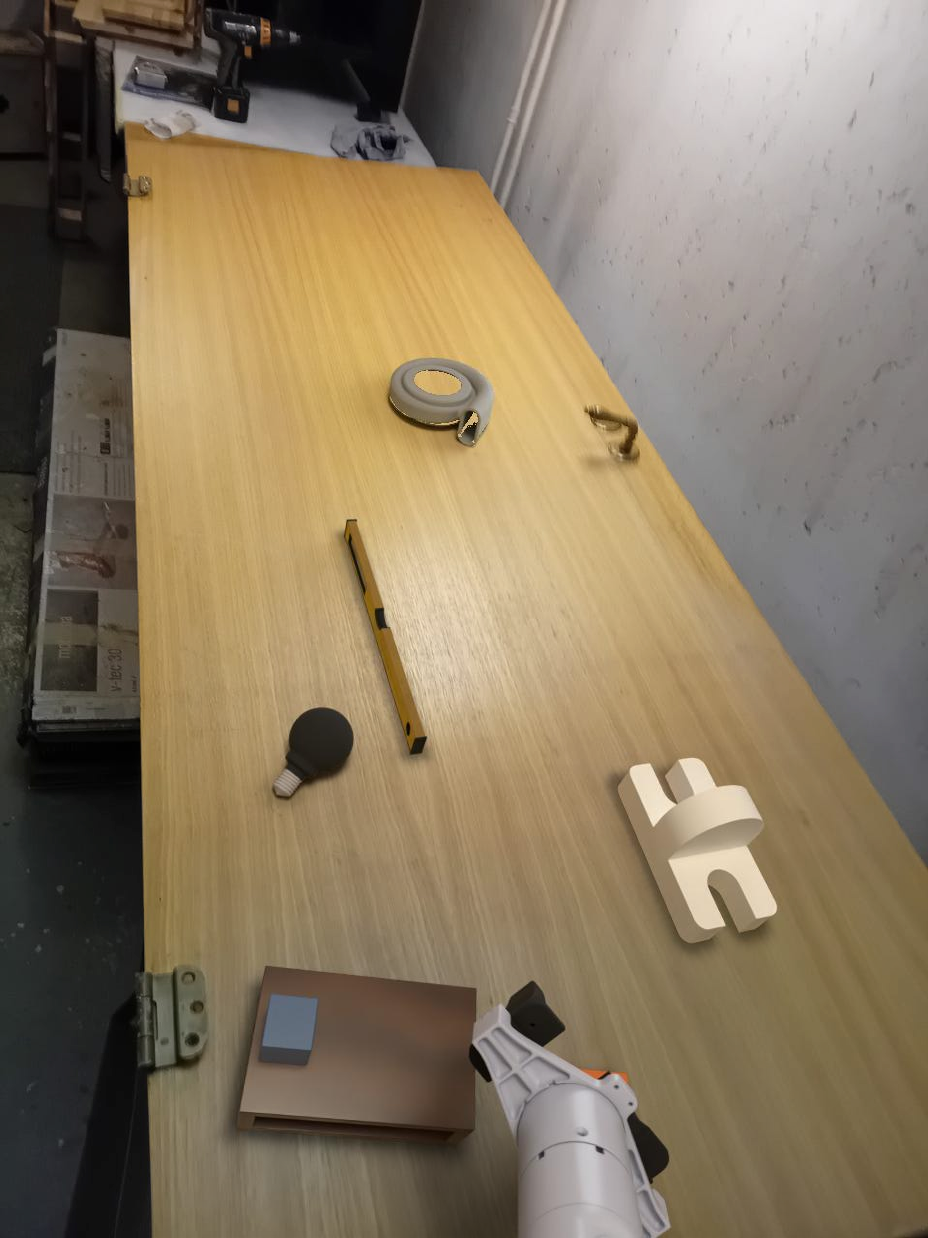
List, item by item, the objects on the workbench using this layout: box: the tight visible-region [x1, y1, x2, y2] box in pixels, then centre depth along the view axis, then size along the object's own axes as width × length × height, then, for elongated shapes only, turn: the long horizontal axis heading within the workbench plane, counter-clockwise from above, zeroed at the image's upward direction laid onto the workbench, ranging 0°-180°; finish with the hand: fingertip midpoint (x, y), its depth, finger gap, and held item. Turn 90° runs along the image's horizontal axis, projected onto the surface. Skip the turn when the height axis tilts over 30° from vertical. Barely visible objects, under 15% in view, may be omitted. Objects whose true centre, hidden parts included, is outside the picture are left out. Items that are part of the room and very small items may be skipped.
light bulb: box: [272, 706, 355, 797], centre depth 81 cm, size 6×6×10 cm
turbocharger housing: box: [388, 357, 495, 447], centre depth 129 cm, size 17×6×15 cm
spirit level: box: [343, 518, 428, 755], centre depth 96 cm, size 33×1×3 cm, turn 17°
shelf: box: [236, 965, 477, 1147], centre depth 64 cm, size 10×17×6 cm, turn 88°
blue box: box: [259, 994, 319, 1065], centre depth 59 cm, size 4×4×4 cm
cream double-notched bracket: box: [616, 757, 778, 944], centre depth 83 cm, size 10×18×11 cm, turn 15°
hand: (562, 1038), depth 53 cm, fingers open, 7 cm apart
